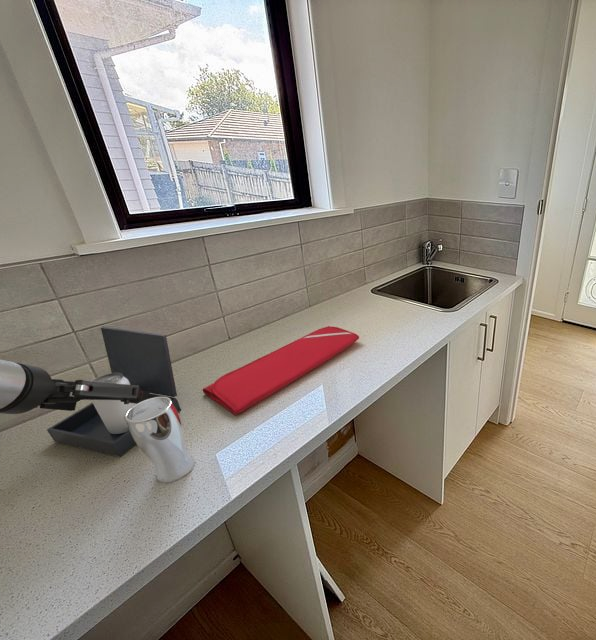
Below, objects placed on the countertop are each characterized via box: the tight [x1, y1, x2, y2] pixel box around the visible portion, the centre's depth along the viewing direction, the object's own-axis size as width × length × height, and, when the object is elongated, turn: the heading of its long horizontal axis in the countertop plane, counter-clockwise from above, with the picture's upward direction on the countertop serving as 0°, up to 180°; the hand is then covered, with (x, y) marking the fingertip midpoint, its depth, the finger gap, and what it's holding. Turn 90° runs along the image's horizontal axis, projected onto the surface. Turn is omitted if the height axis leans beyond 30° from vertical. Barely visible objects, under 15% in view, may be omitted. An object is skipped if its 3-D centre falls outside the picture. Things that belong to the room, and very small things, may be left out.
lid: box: [100, 326, 178, 398], centre depth 77 cm, size 15×17×1 cm
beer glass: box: [125, 396, 196, 483], centre depth 61 cm, size 7×7×15 cm
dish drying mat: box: [202, 325, 360, 416], centre depth 95 cm, size 16×41×4 cm, turn 146°
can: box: [90, 372, 136, 434], centre depth 71 cm, size 6×6×12 cm
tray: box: [46, 393, 182, 458], centre depth 74 cm, size 14×17×4 cm
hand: (111, 400), depth 70 cm, fingers open, 13 cm apart
